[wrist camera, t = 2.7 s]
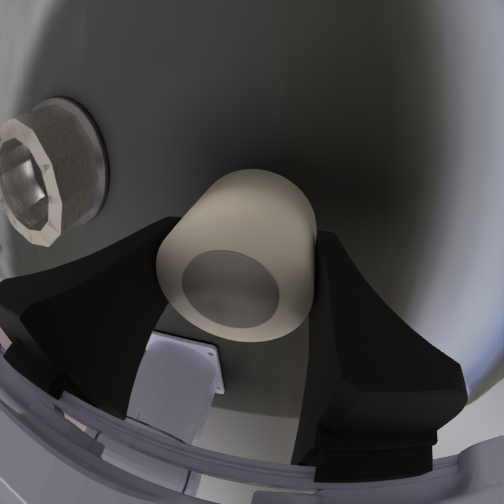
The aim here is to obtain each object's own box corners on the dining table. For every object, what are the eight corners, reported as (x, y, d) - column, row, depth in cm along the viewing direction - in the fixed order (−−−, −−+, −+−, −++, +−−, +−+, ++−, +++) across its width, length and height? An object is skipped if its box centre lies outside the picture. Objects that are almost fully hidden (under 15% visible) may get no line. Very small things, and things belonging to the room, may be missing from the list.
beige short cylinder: (308, 279, 13) (301, 355, 9) (204, 266, 13) (169, 331, 10) (322, 175, 10) (326, 232, 6) (194, 166, 11) (138, 213, 7)
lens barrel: (122, 226, 18) (87, 261, 14) (43, 218, 19) (12, 244, 16) (98, 81, 12) (46, 92, 8) (18, 113, 13) (-21, 129, 10)
